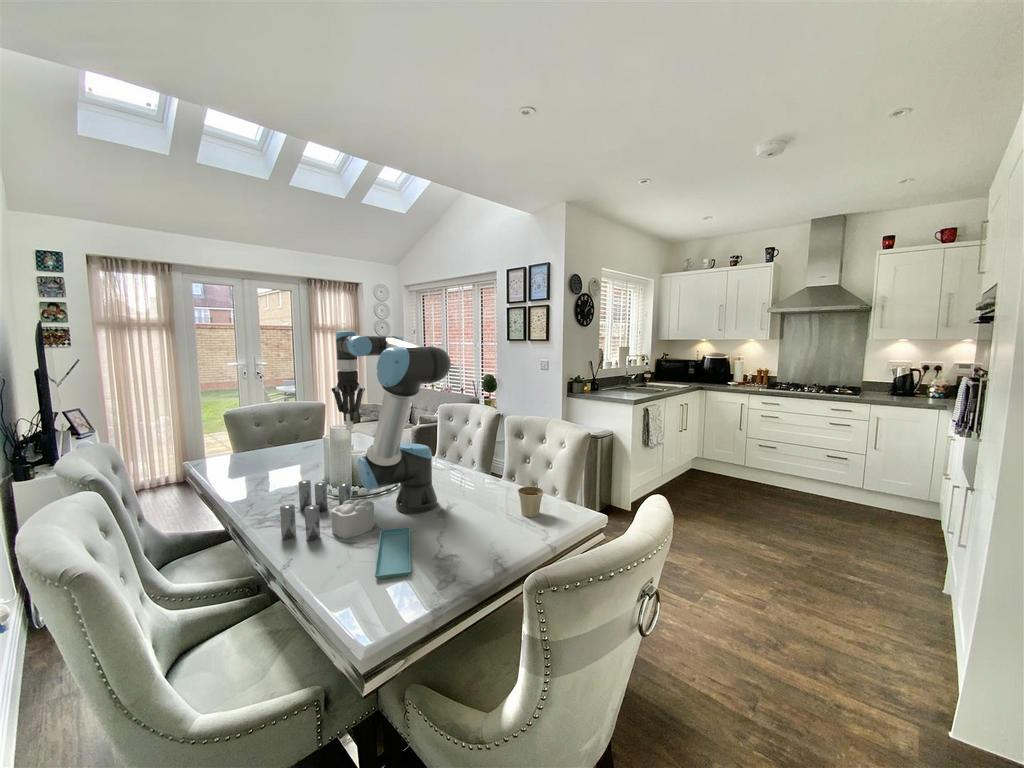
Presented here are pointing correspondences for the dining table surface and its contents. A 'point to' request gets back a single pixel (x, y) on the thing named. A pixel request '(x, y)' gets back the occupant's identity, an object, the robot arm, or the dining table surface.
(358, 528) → the lumpy-topped squat cylinder
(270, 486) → the dining table surface
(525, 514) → the flower pot
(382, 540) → the rectangular tray
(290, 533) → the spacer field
